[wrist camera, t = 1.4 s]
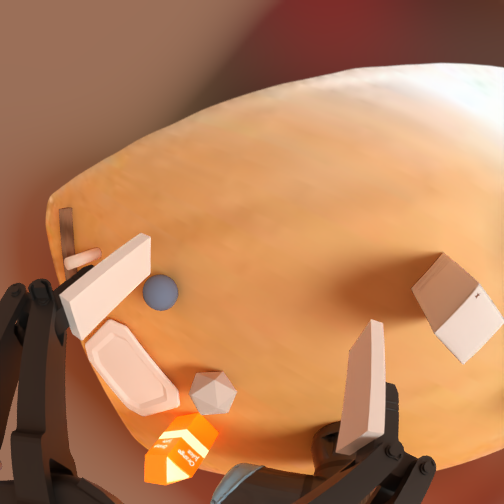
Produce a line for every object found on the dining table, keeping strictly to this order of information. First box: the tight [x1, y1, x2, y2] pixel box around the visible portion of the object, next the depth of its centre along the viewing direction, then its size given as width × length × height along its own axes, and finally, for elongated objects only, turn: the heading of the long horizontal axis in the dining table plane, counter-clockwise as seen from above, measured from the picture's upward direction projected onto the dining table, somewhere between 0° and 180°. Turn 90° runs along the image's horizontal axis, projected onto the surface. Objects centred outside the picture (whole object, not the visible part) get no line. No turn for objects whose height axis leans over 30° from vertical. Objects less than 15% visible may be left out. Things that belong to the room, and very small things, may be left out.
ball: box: [143, 275, 178, 311], centre depth 44 cm, size 6×6×6 cm
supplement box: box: [411, 253, 504, 364], centre depth 27 cm, size 7×7×13 cm
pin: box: [64, 248, 101, 270], centre depth 48 cm, size 2×2×8 cm
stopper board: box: [59, 208, 77, 280], centre depth 54 cm, size 24×2×2 cm, turn 176°
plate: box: [85, 319, 180, 416], centre depth 58 cm, size 25×25×2 cm
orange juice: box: [145, 412, 219, 485], centre depth 47 cm, size 8×9×20 cm
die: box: [189, 371, 237, 415], centre depth 46 cm, size 8×9×10 cm
